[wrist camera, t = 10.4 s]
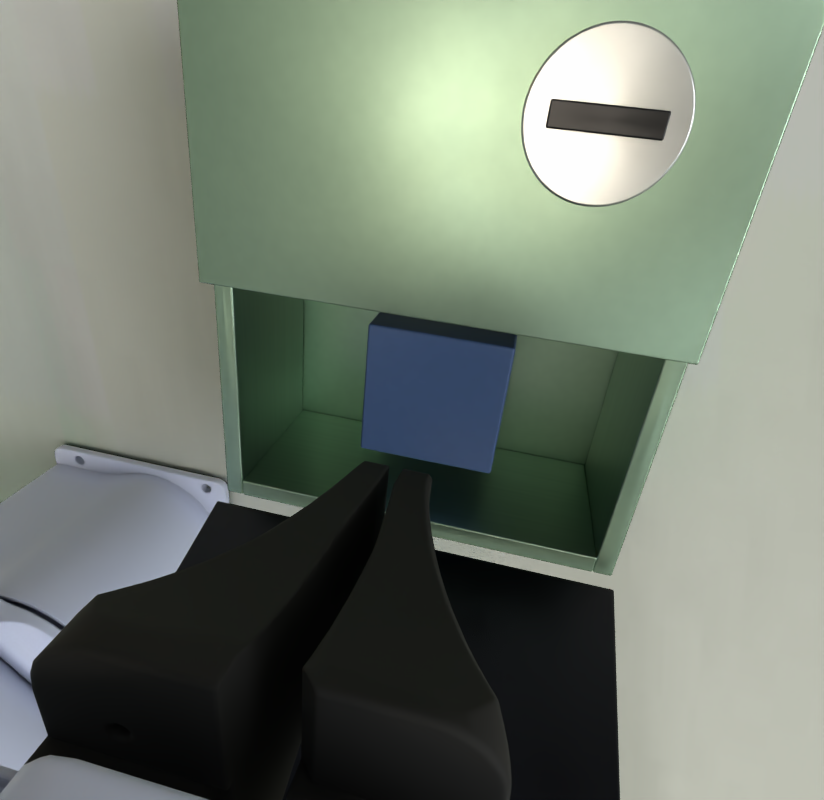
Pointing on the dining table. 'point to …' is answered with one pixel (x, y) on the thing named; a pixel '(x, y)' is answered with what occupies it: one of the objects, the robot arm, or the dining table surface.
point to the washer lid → (512, 660)
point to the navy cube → (435, 390)
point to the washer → (465, 240)
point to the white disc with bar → (608, 113)
